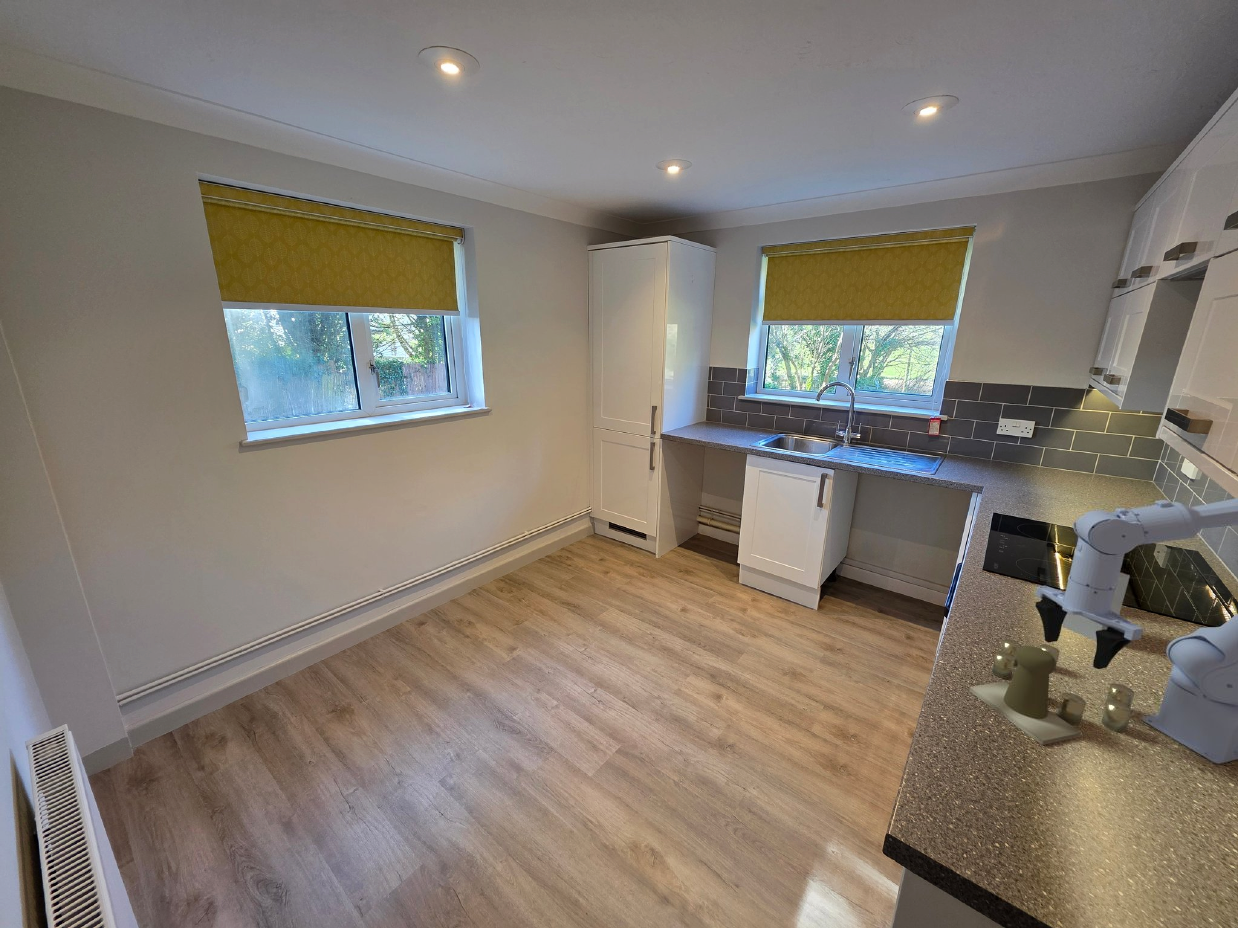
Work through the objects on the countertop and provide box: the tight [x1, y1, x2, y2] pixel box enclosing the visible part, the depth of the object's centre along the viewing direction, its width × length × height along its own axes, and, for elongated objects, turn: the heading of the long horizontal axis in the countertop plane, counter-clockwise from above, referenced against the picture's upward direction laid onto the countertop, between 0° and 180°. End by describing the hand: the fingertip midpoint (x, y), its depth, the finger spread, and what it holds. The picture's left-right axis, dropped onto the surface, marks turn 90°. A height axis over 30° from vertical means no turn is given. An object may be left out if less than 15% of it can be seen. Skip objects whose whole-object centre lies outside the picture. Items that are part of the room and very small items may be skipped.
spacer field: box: [991, 638, 1135, 734], centre depth 90 cm, size 21×14×4 cm
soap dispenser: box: [1062, 536, 1131, 642], centre depth 108 cm, size 6×9×22 cm
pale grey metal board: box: [968, 680, 1082, 746], centre depth 85 cm, size 13×8×1 cm, turn 13°
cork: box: [1004, 645, 1057, 719], centre depth 84 cm, size 6×6×11 cm
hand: (1074, 653), depth 85 cm, fingers open, 7 cm apart
